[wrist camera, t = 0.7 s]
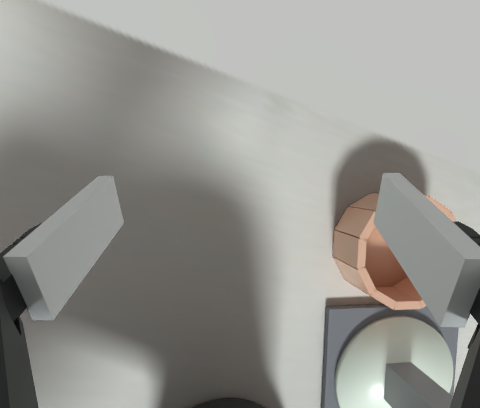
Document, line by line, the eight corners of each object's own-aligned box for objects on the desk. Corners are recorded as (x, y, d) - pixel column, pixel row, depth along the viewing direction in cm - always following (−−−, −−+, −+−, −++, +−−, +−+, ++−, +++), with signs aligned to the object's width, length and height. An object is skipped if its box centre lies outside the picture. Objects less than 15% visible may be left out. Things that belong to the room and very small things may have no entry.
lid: (443, 428, 37) (523, 506, 28) (331, 440, 35) (379, 530, 26) (452, 312, 36) (537, 356, 27) (337, 318, 34) (390, 367, 25)
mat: (444, 430, 38) (449, 435, 37) (319, 444, 35) (322, 450, 35) (454, 301, 37) (460, 304, 36) (326, 306, 34) (329, 309, 34)
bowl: (421, 290, 36) (457, 307, 31) (331, 292, 34) (354, 311, 29) (427, 194, 35) (466, 196, 30) (335, 192, 34) (361, 194, 29)
